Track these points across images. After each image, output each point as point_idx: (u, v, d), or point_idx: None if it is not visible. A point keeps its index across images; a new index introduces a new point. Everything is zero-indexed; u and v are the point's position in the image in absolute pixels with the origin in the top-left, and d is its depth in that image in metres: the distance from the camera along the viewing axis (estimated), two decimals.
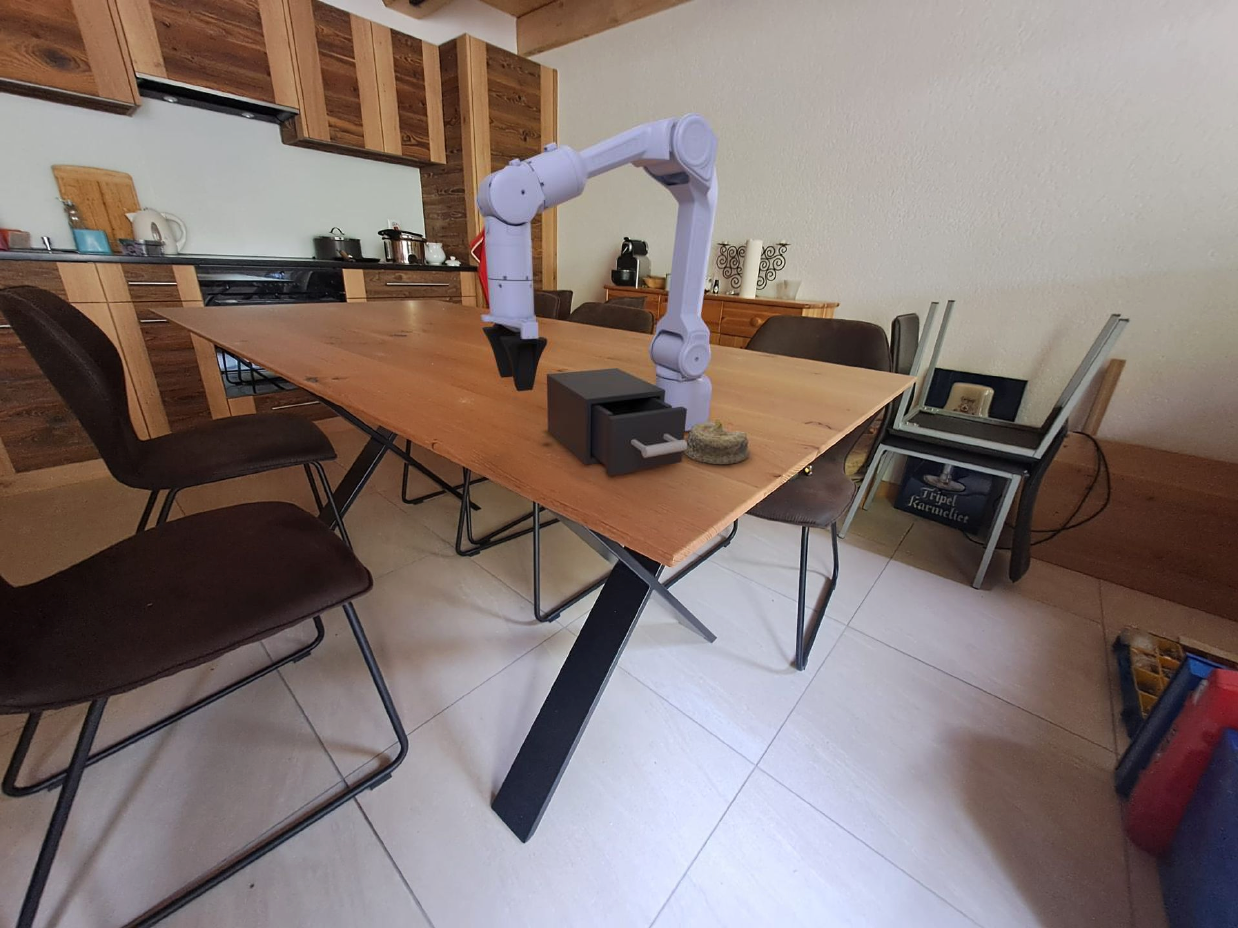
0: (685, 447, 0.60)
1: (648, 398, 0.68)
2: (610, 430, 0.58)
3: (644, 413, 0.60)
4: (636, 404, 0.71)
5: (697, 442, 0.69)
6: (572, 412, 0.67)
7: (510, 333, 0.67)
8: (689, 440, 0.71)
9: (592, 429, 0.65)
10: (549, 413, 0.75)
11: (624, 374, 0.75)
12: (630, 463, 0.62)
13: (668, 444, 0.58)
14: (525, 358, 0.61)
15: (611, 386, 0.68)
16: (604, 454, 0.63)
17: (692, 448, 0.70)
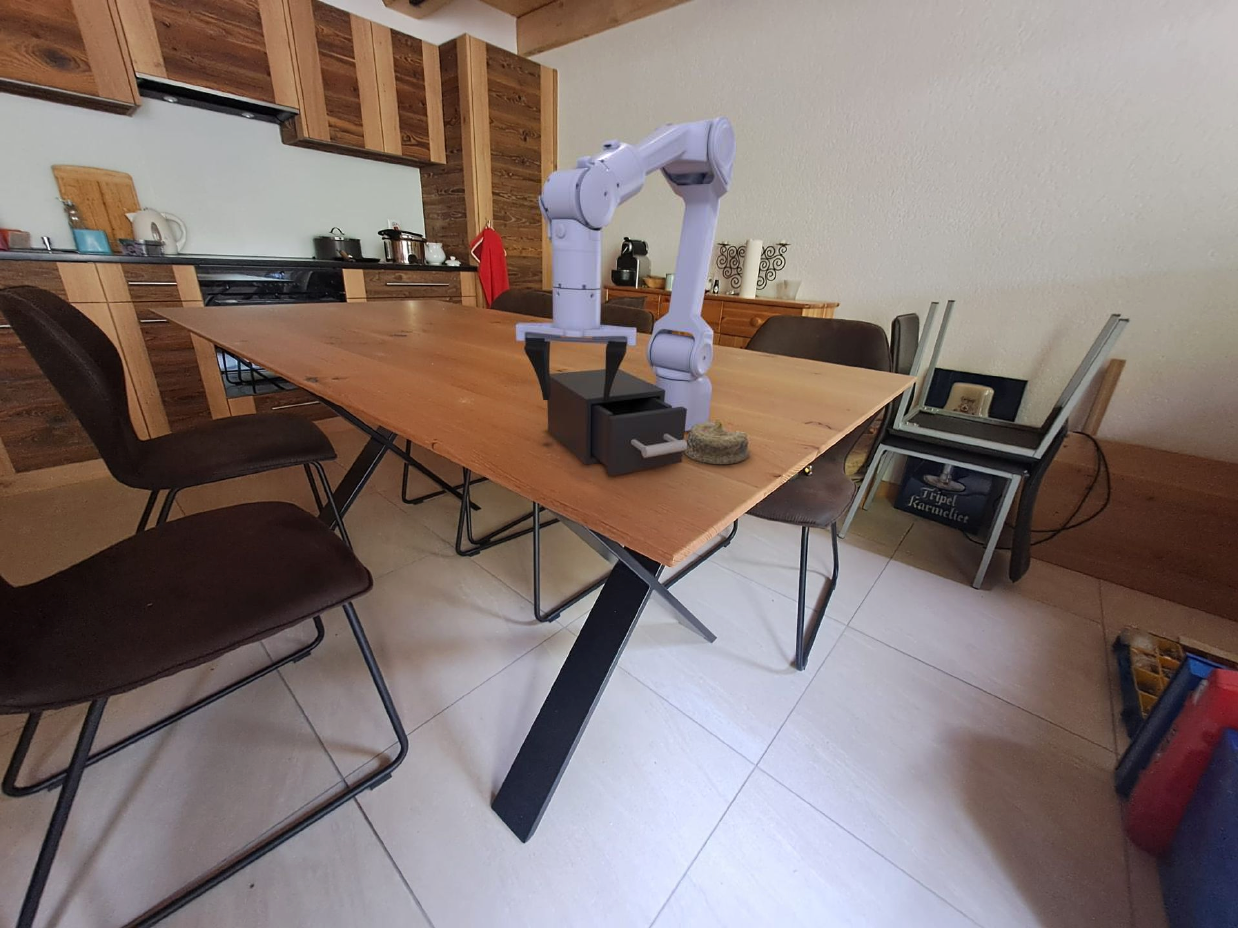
0: (685, 447, 0.60)
1: (648, 398, 0.68)
2: (610, 430, 0.58)
3: (644, 413, 0.60)
4: (636, 404, 0.71)
5: (697, 442, 0.69)
6: (572, 412, 0.67)
7: (547, 348, 0.59)
8: (689, 440, 0.71)
9: (592, 429, 0.65)
10: (549, 413, 0.75)
11: (624, 374, 0.75)
12: (630, 463, 0.62)
13: (668, 444, 0.58)
14: None
15: None
16: (604, 454, 0.63)
17: (692, 448, 0.70)
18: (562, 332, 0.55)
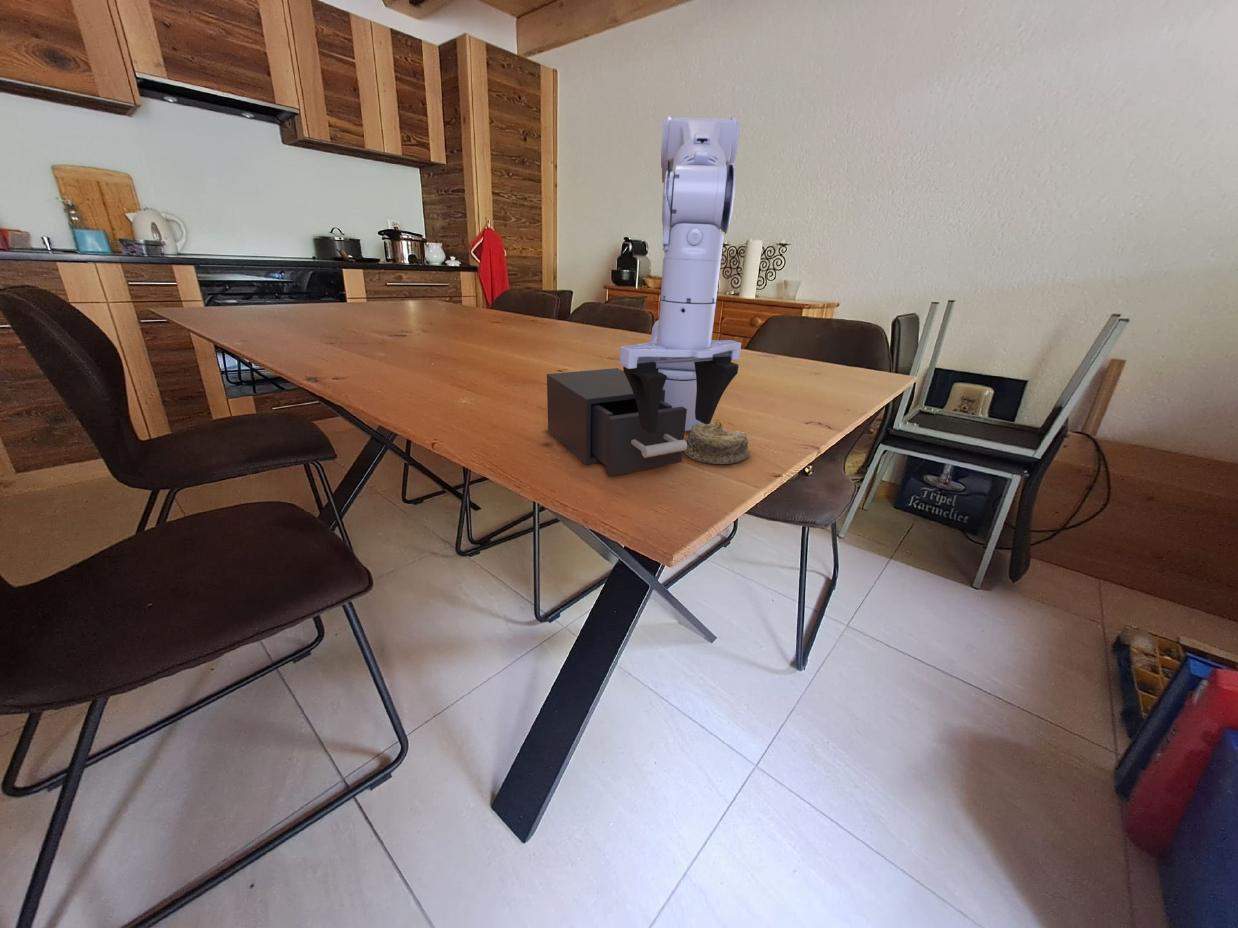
0: (685, 447, 0.60)
1: None
2: (610, 430, 0.58)
3: None
4: (636, 404, 0.71)
5: (697, 442, 0.69)
6: (572, 412, 0.67)
7: None
8: (689, 440, 0.71)
9: (592, 429, 0.65)
10: (549, 413, 0.75)
11: (624, 374, 0.75)
12: (630, 463, 0.62)
13: (668, 444, 0.58)
14: None
15: (611, 386, 0.68)
16: (604, 454, 0.63)
17: (692, 448, 0.70)
18: (687, 353, 0.48)
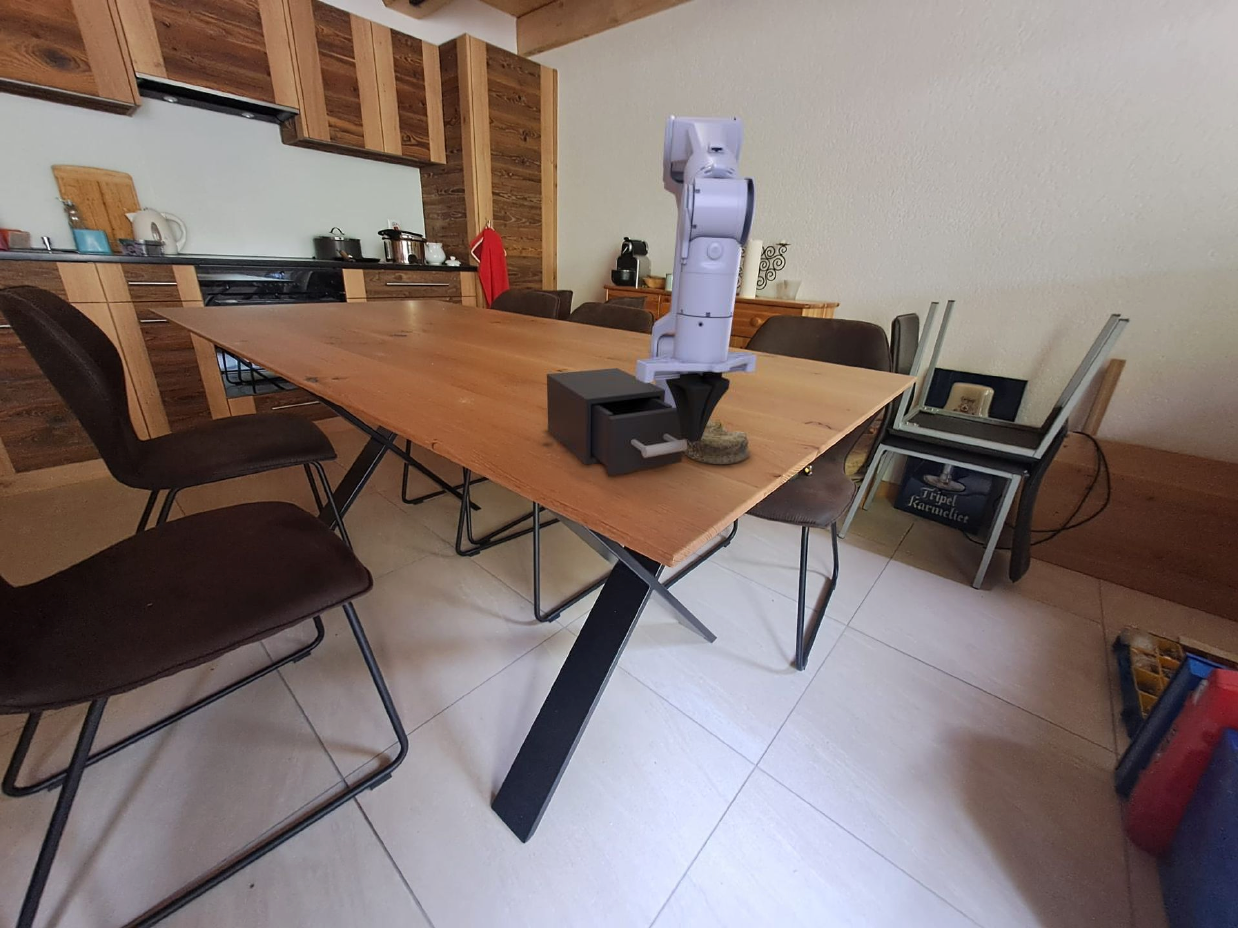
0: (685, 447, 0.60)
1: (648, 398, 0.68)
2: (610, 430, 0.58)
3: (644, 413, 0.60)
4: (636, 404, 0.71)
5: (697, 442, 0.69)
6: (572, 412, 0.67)
7: None
8: None
9: (592, 429, 0.65)
10: (549, 413, 0.75)
11: (624, 374, 0.75)
12: (630, 463, 0.62)
13: (668, 444, 0.58)
14: None
15: (611, 386, 0.68)
16: (604, 454, 0.63)
17: (692, 448, 0.70)
18: (704, 367, 0.47)
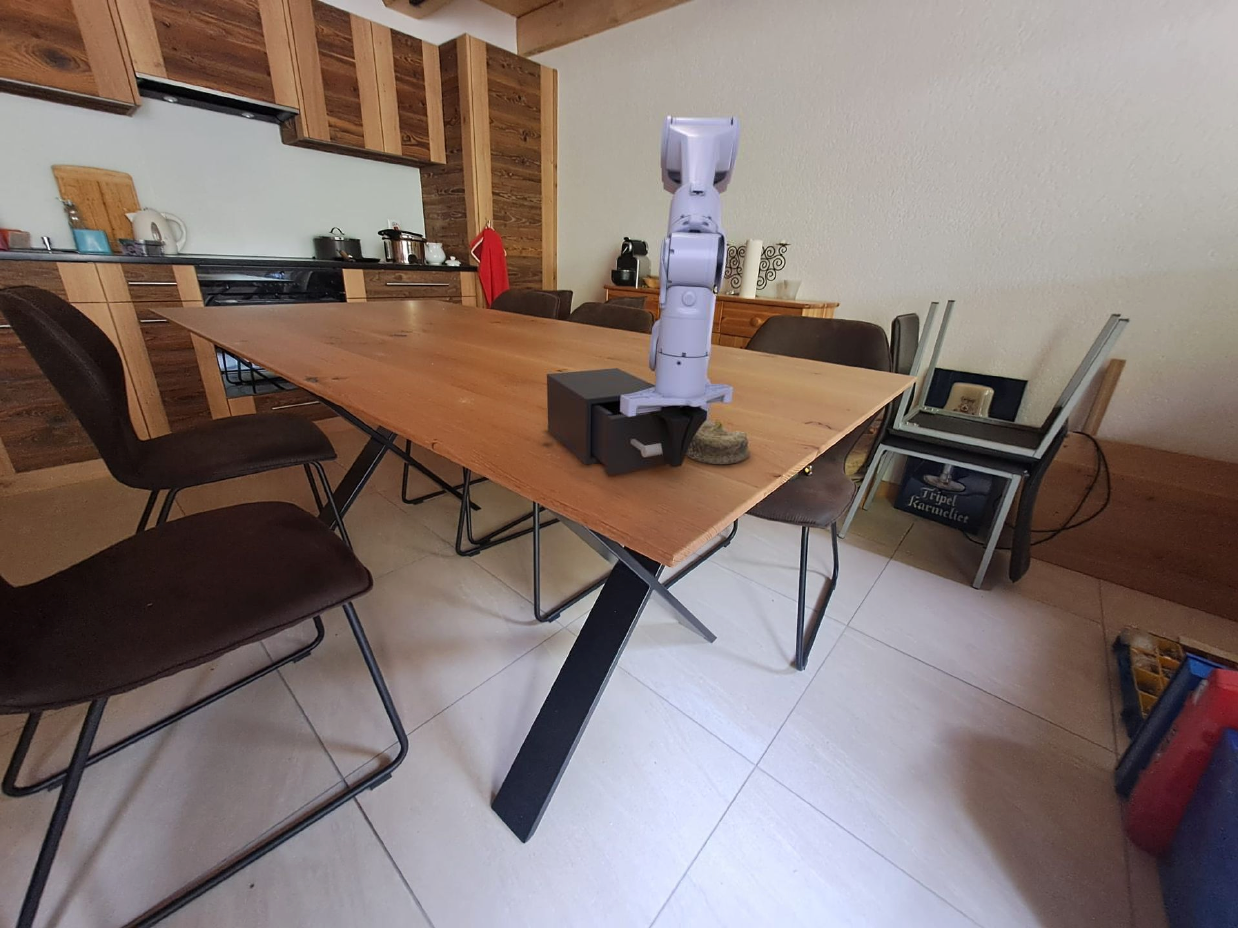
0: None
1: None
2: (610, 429, 0.59)
3: (643, 413, 0.60)
4: None
5: (697, 442, 0.69)
6: (572, 412, 0.67)
7: None
8: None
9: (592, 429, 0.65)
10: (549, 413, 0.75)
11: (624, 374, 0.75)
12: (629, 463, 0.62)
13: None
14: None
15: (611, 386, 0.68)
16: (604, 454, 0.63)
17: (692, 448, 0.70)
18: (683, 401, 0.51)
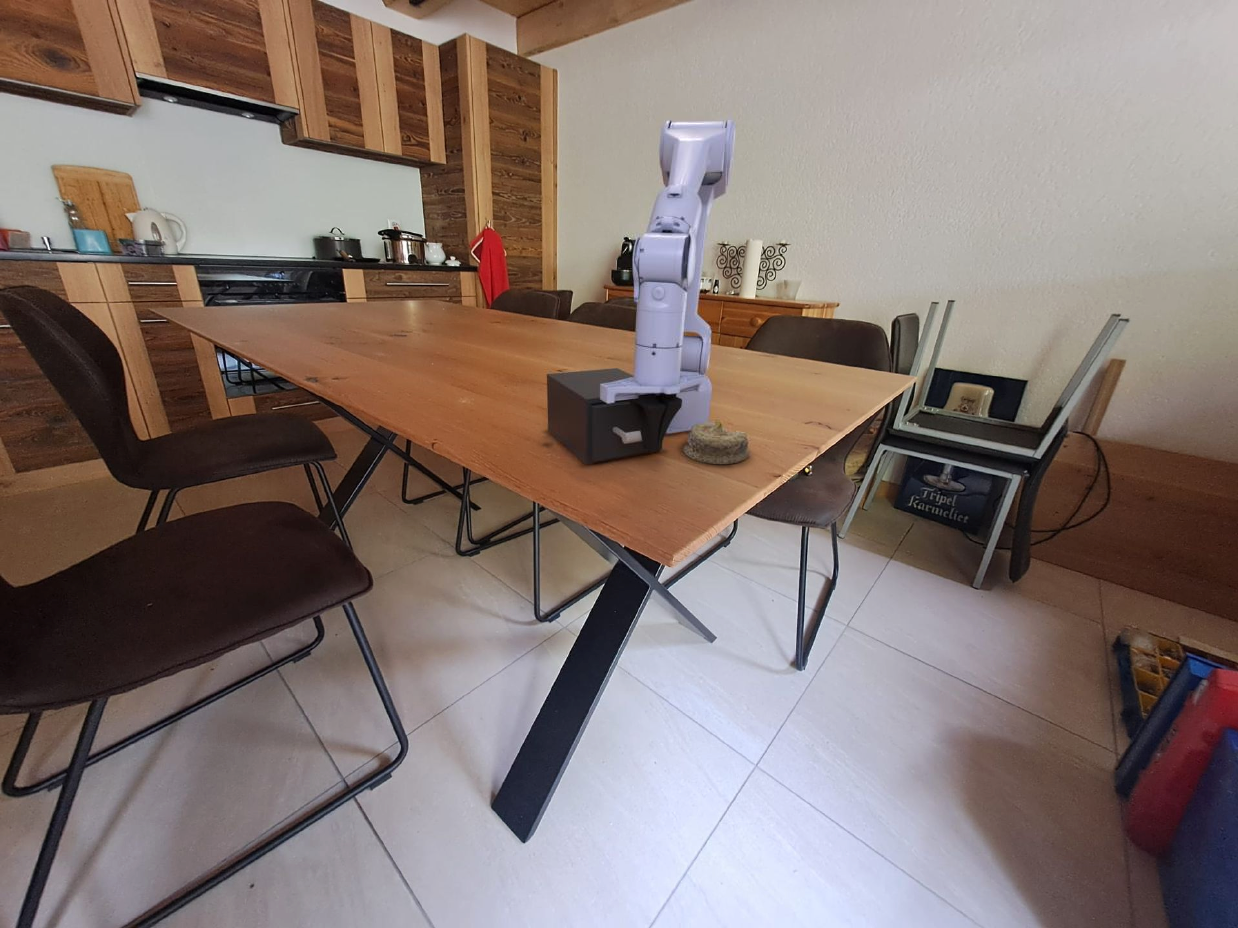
0: None
1: None
2: (593, 417, 0.62)
3: (625, 402, 0.64)
4: None
5: (697, 442, 0.69)
6: (572, 412, 0.67)
7: None
8: (689, 440, 0.71)
9: None
10: (549, 413, 0.75)
11: (624, 374, 0.75)
12: (612, 449, 0.66)
13: None
14: None
15: None
16: None
17: (692, 448, 0.70)
18: (658, 389, 0.55)
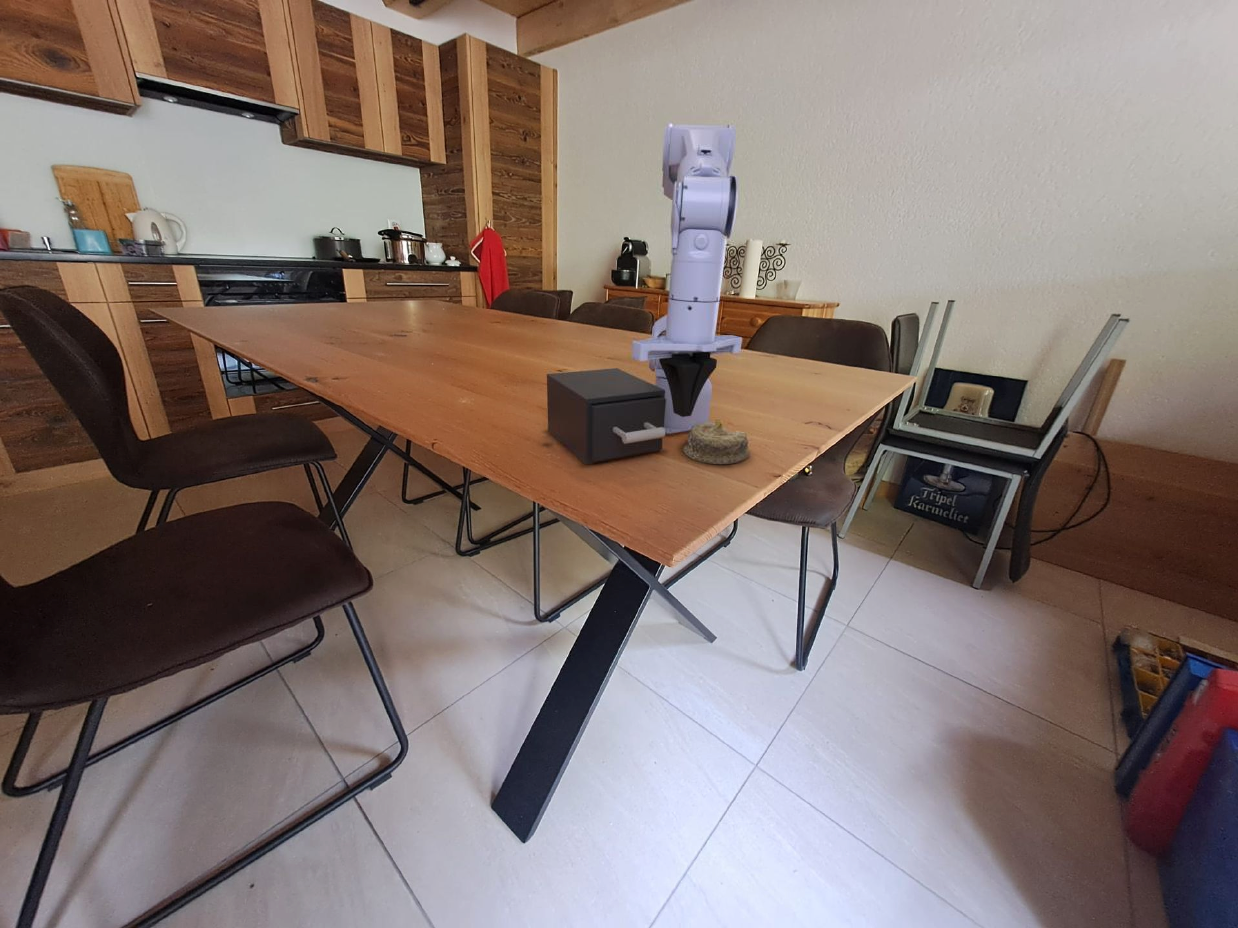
0: (663, 434, 0.64)
1: None
2: (593, 417, 0.62)
3: (625, 402, 0.64)
4: None
5: (697, 442, 0.69)
6: (572, 412, 0.67)
7: None
8: (689, 440, 0.71)
9: None
10: (549, 413, 0.75)
11: (624, 374, 0.75)
12: (612, 449, 0.66)
13: (647, 431, 0.62)
14: None
15: (611, 386, 0.68)
16: None
17: (692, 448, 0.70)
18: (693, 347, 0.52)
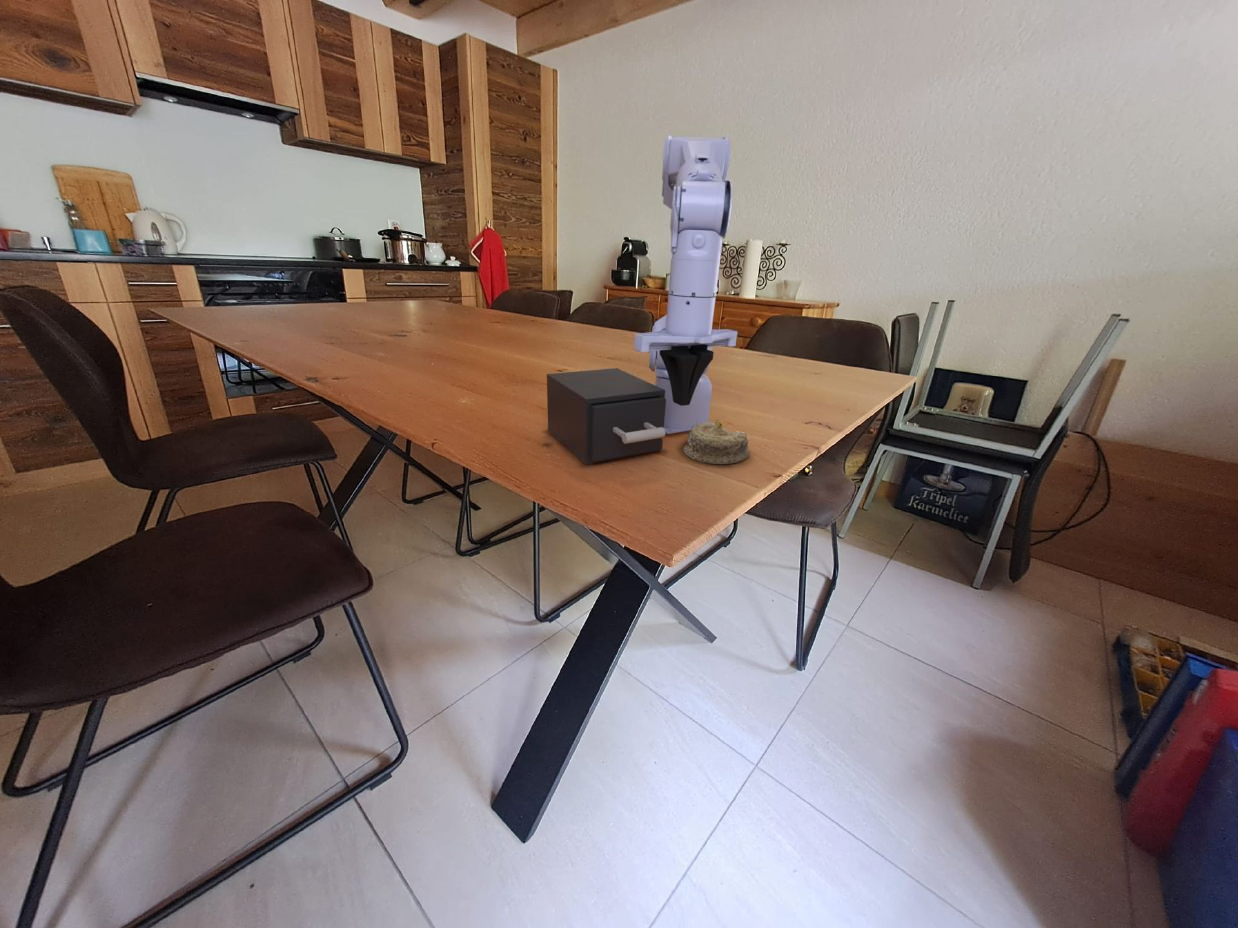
0: (663, 434, 0.64)
1: None
2: (593, 417, 0.62)
3: (625, 402, 0.64)
4: None
5: (697, 442, 0.69)
6: (572, 412, 0.67)
7: None
8: (689, 440, 0.71)
9: None
10: (549, 413, 0.75)
11: (624, 374, 0.75)
12: (612, 449, 0.66)
13: (647, 431, 0.62)
14: None
15: (611, 386, 0.68)
16: None
17: (692, 448, 0.70)
18: (692, 339, 0.56)
